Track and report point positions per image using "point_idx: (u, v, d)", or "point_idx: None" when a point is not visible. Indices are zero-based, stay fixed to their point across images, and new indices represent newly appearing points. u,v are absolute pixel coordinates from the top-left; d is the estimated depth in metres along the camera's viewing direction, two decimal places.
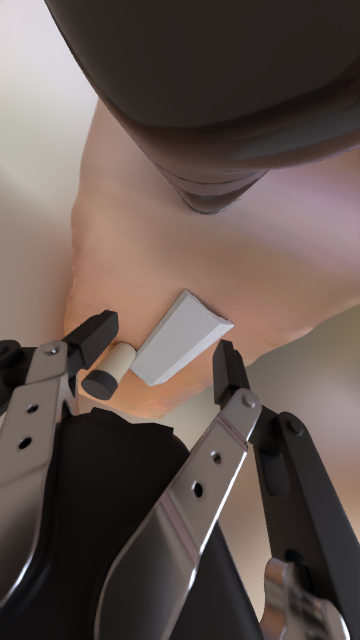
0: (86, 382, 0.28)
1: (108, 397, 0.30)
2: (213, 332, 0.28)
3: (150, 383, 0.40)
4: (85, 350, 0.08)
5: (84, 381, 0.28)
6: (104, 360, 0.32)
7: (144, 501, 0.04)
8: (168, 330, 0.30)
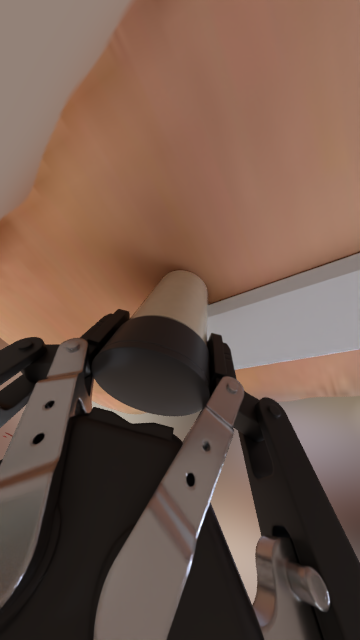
0: (119, 395, 0.09)
1: (175, 366, 0.06)
2: None
3: None
4: (102, 347, 0.08)
5: (118, 398, 0.09)
6: (175, 297, 0.10)
7: (144, 501, 0.04)
8: (359, 286, 0.13)
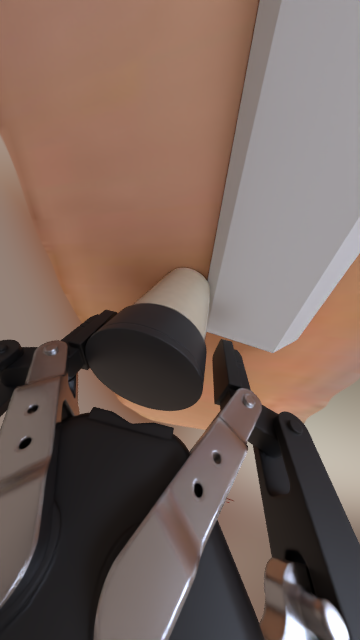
0: (149, 403, 0.09)
1: (105, 337, 0.07)
2: None
3: (274, 342, 0.15)
4: None
5: (153, 406, 0.09)
6: None
7: (145, 501, 0.04)
8: (310, 14, 0.07)
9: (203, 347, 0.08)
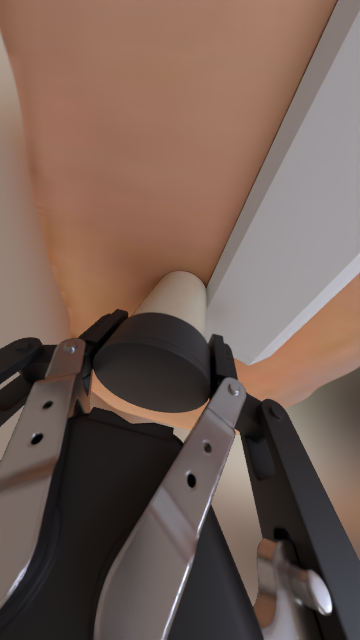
0: (190, 402, 0.08)
1: (101, 376, 0.08)
2: None
3: (252, 357, 0.17)
4: None
5: (197, 403, 0.08)
6: (144, 301, 0.11)
7: (144, 501, 0.04)
8: (350, 88, 0.08)
9: (163, 319, 0.08)
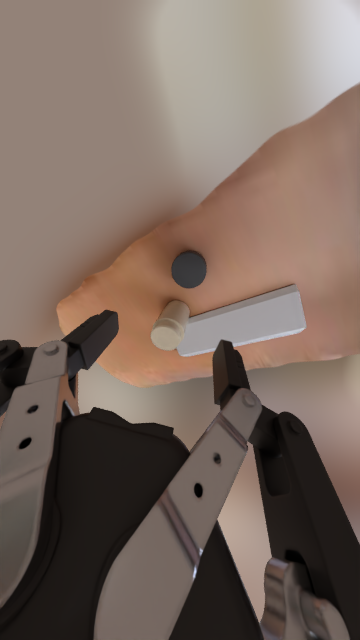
0: (200, 278, 0.28)
1: (173, 270, 0.28)
2: (290, 331, 0.30)
3: (183, 353, 0.38)
4: (85, 350, 0.08)
5: (202, 278, 0.28)
6: (173, 312, 0.28)
7: (144, 501, 0.04)
8: (250, 312, 0.31)
9: (193, 251, 0.27)
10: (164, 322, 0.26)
